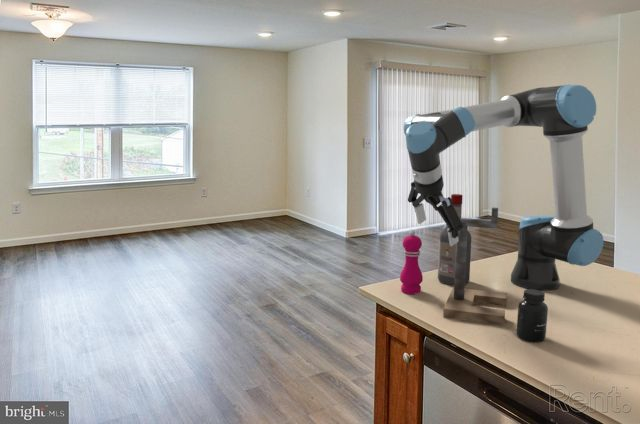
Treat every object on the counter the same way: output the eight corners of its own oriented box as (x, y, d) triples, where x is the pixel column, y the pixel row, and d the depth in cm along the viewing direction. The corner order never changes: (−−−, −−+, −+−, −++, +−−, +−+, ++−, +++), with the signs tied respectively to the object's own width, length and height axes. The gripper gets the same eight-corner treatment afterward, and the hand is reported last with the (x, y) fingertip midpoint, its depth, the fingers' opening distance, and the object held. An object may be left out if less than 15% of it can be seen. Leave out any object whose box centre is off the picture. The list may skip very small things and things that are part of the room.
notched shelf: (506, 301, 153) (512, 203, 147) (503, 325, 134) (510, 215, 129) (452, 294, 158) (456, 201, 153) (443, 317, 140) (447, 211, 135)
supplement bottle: (543, 345, 122) (546, 298, 120) (513, 339, 126) (516, 293, 123) (547, 335, 128) (550, 290, 126) (519, 330, 131) (522, 285, 129)
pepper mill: (422, 295, 158) (424, 233, 155) (399, 294, 159) (400, 232, 156) (422, 288, 165) (424, 228, 162) (400, 287, 166) (401, 228, 163)
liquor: (458, 287, 166) (461, 197, 161) (434, 281, 172) (437, 194, 167) (472, 281, 172) (476, 194, 167) (448, 275, 179) (452, 192, 173)
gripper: (387, 166, 142) (400, 219, 156) (450, 203, 124) (459, 260, 138) (408, 153, 144) (418, 207, 158) (472, 188, 126) (478, 245, 139)
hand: (437, 232), depth 148 cm, fingers open, 13 cm apart
